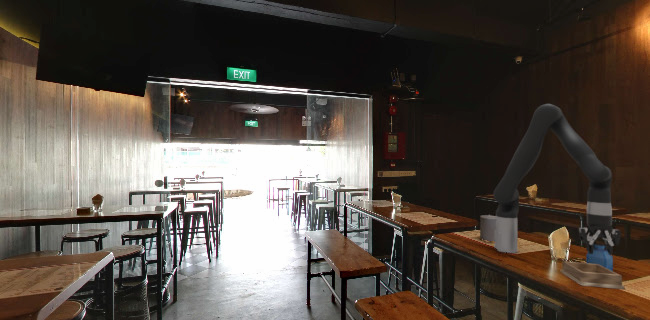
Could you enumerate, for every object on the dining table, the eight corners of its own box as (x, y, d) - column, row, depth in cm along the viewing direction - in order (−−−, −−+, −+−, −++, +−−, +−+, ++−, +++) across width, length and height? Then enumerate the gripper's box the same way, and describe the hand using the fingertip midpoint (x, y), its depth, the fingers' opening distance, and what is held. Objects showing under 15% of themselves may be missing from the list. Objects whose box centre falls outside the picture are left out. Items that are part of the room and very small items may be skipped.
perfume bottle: (606, 274, 113) (606, 244, 113) (586, 269, 118) (586, 240, 118) (612, 272, 115) (612, 242, 116) (593, 267, 121) (592, 239, 121)
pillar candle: (476, 238, 167) (476, 213, 167) (491, 237, 168) (491, 212, 168) (487, 243, 157) (487, 216, 157) (503, 242, 158) (503, 216, 158)
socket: (581, 285, 103) (581, 272, 103) (560, 271, 115) (560, 260, 115) (624, 289, 100) (624, 276, 100) (598, 275, 112) (598, 263, 112)
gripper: (584, 213, 115) (584, 255, 115) (627, 215, 112) (627, 258, 111) (573, 210, 122) (573, 249, 122) (613, 212, 119) (613, 252, 119)
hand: (599, 253), depth 117 cm, fingers closed on perfume bottle, 5 cm apart
